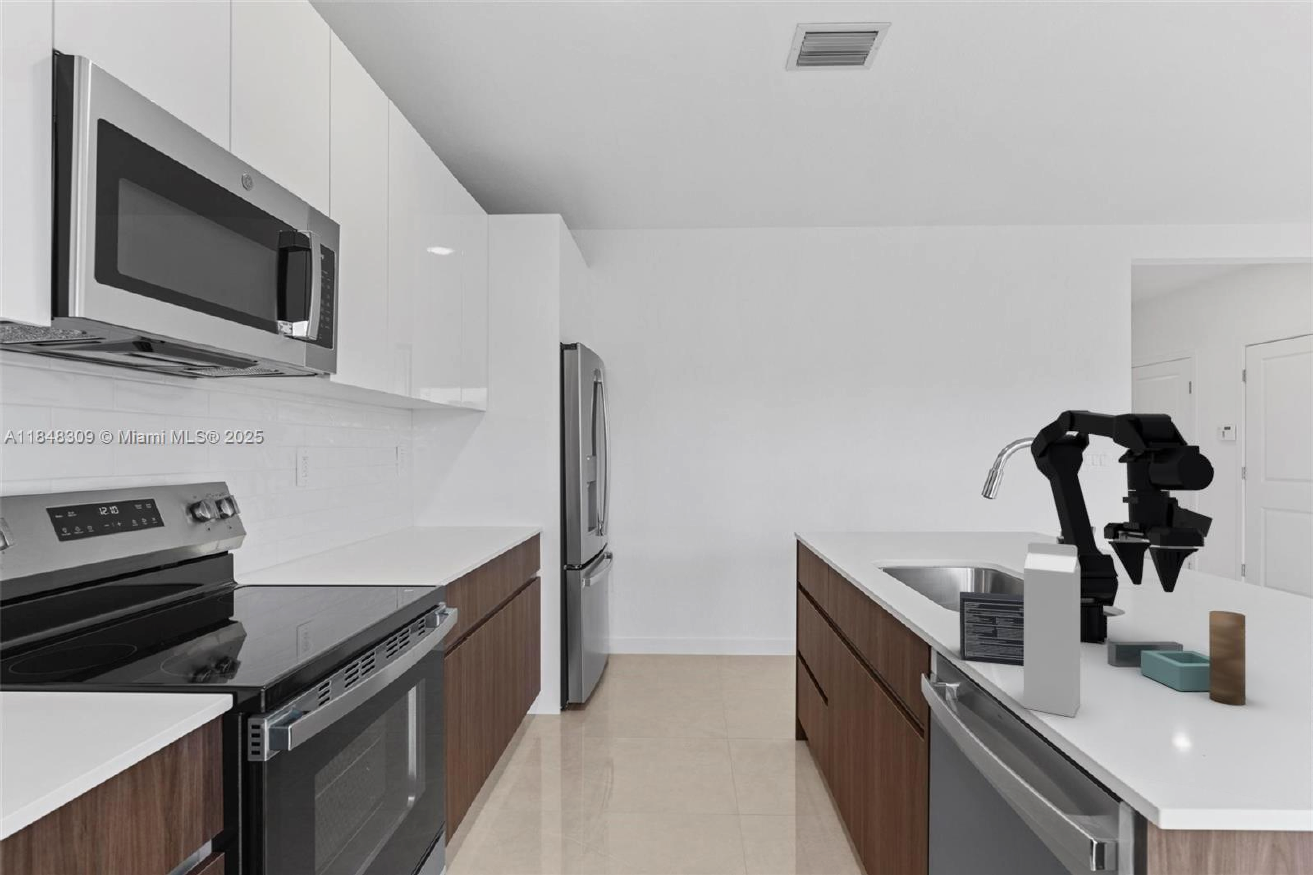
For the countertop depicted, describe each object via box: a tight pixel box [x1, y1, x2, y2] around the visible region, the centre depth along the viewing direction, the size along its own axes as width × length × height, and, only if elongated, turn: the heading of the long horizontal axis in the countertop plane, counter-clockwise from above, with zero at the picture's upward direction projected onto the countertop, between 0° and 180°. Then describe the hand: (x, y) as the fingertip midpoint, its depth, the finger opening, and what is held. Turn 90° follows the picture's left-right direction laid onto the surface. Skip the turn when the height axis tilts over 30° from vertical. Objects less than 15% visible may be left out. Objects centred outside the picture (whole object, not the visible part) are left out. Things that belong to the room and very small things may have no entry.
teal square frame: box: [1140, 650, 1209, 692], centre depth 113 cm, size 8×8×4 cm
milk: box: [1023, 541, 1081, 718], centre depth 102 cm, size 6×6×22 cm
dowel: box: [1208, 610, 1247, 706], centre depth 105 cm, size 4×4×12 cm
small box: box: [959, 591, 1024, 666], centre depth 125 cm, size 11×6×10 cm, turn 71°
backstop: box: [1107, 641, 1184, 668], centre depth 122 cm, size 2×11×4 cm, turn 92°
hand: (1152, 588), depth 121 cm, fingers open, 9 cm apart
